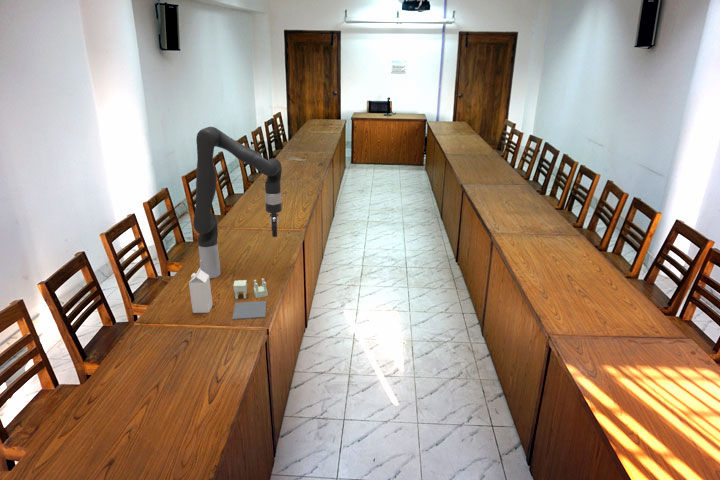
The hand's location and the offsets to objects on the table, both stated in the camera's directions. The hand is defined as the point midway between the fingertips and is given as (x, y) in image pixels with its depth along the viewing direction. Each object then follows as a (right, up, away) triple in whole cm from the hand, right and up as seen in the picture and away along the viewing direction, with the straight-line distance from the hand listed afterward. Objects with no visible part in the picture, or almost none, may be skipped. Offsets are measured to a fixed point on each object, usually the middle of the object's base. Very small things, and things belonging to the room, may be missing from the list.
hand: (274, 233), depth 245 cm
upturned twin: (-6, -29, -5) cm, 30 cm away
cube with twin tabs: (-15, -30, -7) cm, 34 cm away
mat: (-8, -35, -19) cm, 40 cm away
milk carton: (-29, -34, -18) cm, 49 cm away
